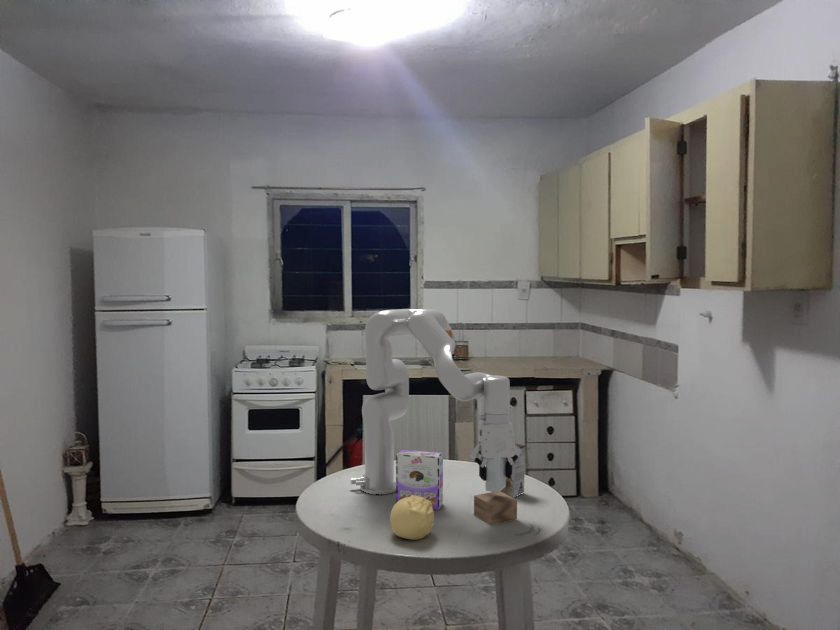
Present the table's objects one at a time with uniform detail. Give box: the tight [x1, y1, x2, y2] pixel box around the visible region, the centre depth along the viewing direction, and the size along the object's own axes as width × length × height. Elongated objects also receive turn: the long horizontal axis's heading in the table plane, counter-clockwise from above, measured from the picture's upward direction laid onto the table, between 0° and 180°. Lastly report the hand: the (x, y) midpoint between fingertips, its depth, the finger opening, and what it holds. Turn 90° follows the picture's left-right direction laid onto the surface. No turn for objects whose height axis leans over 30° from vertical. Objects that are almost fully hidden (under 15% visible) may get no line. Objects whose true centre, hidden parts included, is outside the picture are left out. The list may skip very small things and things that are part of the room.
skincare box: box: [485, 451, 506, 493], centre depth 191 cm, size 6×4×12 cm
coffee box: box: [501, 442, 526, 498], centre depth 212 cm, size 9×6×16 cm
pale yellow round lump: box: [389, 495, 435, 541], centre depth 177 cm, size 11×12×11 cm
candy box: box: [395, 449, 444, 511], centre depth 200 cm, size 14×6×16 cm, turn 74°
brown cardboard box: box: [473, 491, 518, 526], centre depth 191 cm, size 9×9×6 cm
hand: (495, 477), depth 191 cm, fingers closed on skincare box, 7 cm apart
